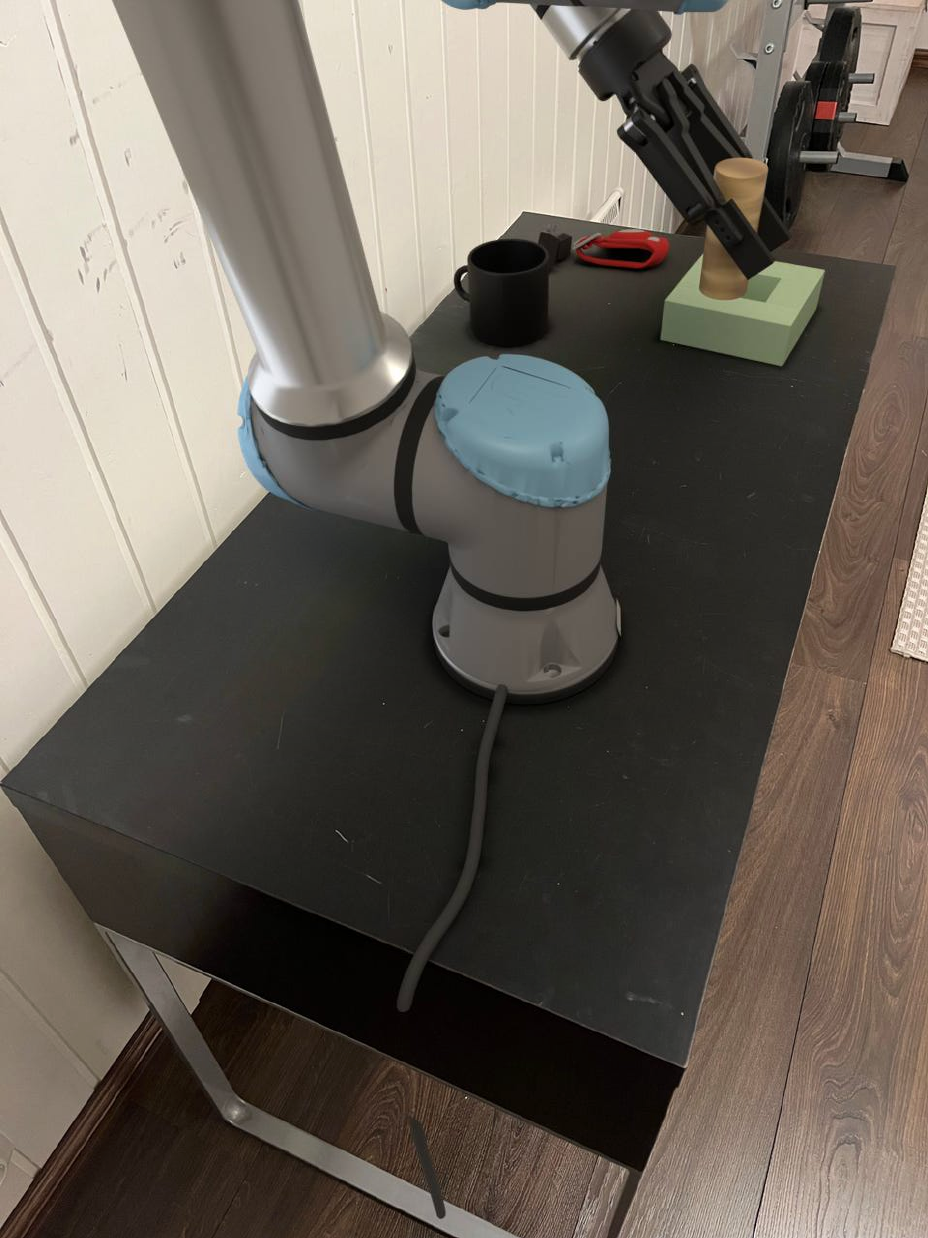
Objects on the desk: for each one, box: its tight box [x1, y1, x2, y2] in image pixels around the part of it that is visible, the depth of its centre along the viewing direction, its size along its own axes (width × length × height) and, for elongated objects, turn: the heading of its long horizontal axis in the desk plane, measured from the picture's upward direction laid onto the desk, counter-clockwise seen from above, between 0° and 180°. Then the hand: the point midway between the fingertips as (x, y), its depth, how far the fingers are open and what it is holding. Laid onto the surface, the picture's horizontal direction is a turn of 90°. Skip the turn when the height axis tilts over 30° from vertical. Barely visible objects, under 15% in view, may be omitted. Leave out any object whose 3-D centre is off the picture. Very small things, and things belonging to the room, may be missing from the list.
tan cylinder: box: [699, 158, 769, 300], centre depth 84 cm, size 4×4×11 cm
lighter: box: [537, 223, 573, 271], centre depth 124 cm, size 8×2×5 cm
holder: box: [660, 253, 826, 367], centre depth 111 cm, size 14×14×5 cm
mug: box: [453, 238, 550, 347], centre depth 112 cm, size 9×12×9 cm
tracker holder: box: [571, 228, 670, 270], centre depth 124 cm, size 12×4×10 cm
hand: (769, 257), depth 84 cm, fingers closed on tan cylinder, 4 cm apart
